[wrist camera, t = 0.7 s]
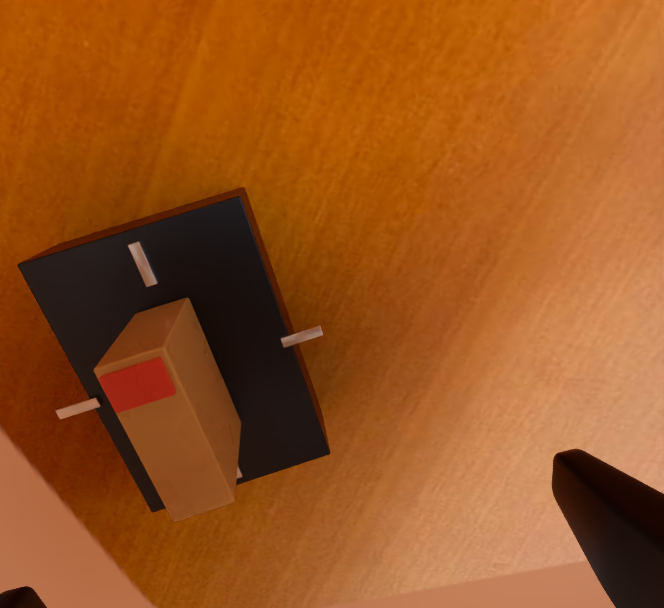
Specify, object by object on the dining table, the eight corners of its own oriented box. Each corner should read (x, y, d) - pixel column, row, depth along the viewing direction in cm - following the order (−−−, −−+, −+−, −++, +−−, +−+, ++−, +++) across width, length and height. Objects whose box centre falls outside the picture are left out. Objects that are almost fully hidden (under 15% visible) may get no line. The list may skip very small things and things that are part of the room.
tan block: (242, 422, 17) (235, 509, 13) (193, 438, 17) (171, 530, 13) (188, 296, 15) (161, 350, 11) (134, 313, 15) (87, 374, 11)
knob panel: (345, 404, 21) (359, 447, 18) (142, 470, 20) (122, 526, 17) (273, 177, 17) (274, 184, 14) (27, 253, 17) (-23, 277, 14)
